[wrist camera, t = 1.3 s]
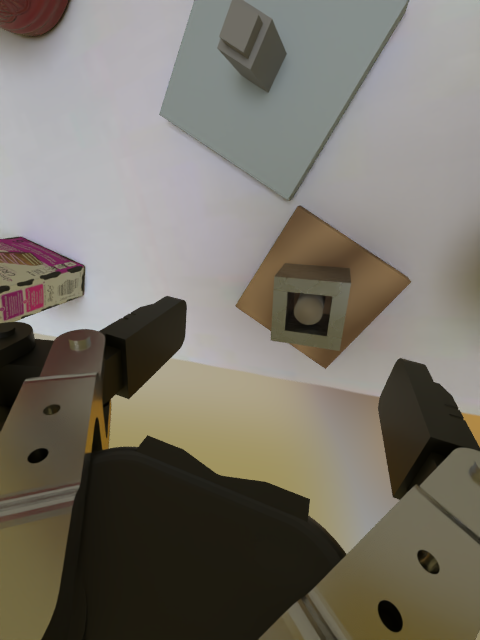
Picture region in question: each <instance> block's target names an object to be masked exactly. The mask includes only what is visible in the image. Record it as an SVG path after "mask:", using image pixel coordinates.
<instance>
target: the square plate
mask: <svg viewBox="0 0 480 640" xmlns="http://www.w3.org/2000/svg"><path fill="white" fill-rule="evenodd" d="M408 3H409V0H194V3H193V7H192V10H191V13H190V16H189V20H188V23H187V26H186V29H185V33H184V36H183V39H182V42H181V46H180V49H179V52H178V55H177V59H176V62H175V65H174V68H173V72H172V75H171V78H170V81H169V85H168V88H167V91H166V94H165V98H164V101H163V104H162V107H161V111H160V114H159V115H161V116H162V117H164V118H165V119H167V120H168V121H170V122H171V123H173V124H174V125H176V126H177V127H179V128H180V129H182V130H183V131H185V132H186V133H188V134H189V135H191V136H192V137H194V138H195V139H197V140H198V141H200V142H201V143H203V144H204V145H206V146H207V147H209V148H210V149H212V150H213V151H215V152H216V153H218V154H219V155H221V156H222V157H224V158H225V159H227V160H228V161H230V162H231V163H233V164H234V165H236V166H237V167H239V168H240V169H242V170H243V171H245V172H246V173H248V174H249V175H251V176H252V177H254V178H255V179H257V180H258V181H260V182H261V183H263V184H264V185H266V186H267V187H269V188H270V189H272V190H273V191H275V192H276V193H278V194H279V195H281V196H282V197H284V198H285V199H287V200H291V199H292V198H293V196H294V194H295V193H296V191H297V189H298V188H299V186H300V185H301V183H302V181H303V180H304V178H305V176H306V175H307V173H308V171H309V170H310V168H311V166H312V165H313V163H314V161H315V160H316V158H317V157H318V155H319V153H320V152H321V150H322V148H323V147H324V145H325V143H326V142H327V140H328V138H329V137H330V135H331V133H332V132H333V130H334V128H335V127H336V125H337V124H338V122H339V120H340V119H341V117H342V115H343V114H344V112H345V110H346V109H347V107H348V105H349V104H350V102H351V100H352V99H353V97H354V96H355V94H356V92H357V91H358V89H359V87H360V86H361V84H362V82H363V81H364V79H365V77H366V76H367V74H368V72H369V71H370V69H371V68H372V66H373V64H374V63H375V61H376V59H377V58H378V56H379V54H380V53H381V51H382V49H383V48H384V46H385V44H386V43H387V41H388V39H389V38H390V36H391V35H392V33H393V31H394V30H395V28H396V26H397V25H398V23H399V21H400V20H401V18H402V16H403V15H404V13H405V11H406V8H407V6H408Z"/></svg>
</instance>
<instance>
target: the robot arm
mask: <svg viewBox="0 0 480 640" xmlns="http://www.w3.org/2000/svg"><path fill="white" fill-rule="evenodd" d="M186 310H187V305H186V302H185V301H184V300H181V299H177V298H173V297H169V296H166V297H164V298H162V299H161V300H159V301H157V302H156V303H154V304H151V305H147V306H143V307H140V308H138V309H136V310H135V311H133V312H131V314H128V315H126V316H124V317H123V318H121V319H119V320H117V321H116V322H114V323H112V324H111V325H109V326H107V327H106V328H104V329H102V330H100V331H99V332H98V331H95V330H89V329H81V330H74V331H70V332H67V333H64V334H62V335H60V336H59V337H57V338H56V339H55V340H54V341H51V340H40V339H35V338H34V334H33V329H32V327H31V326H30V325H29V324H26V323H22V322H5V323H0V640H475V639H476V637H477V634H478V633H479V631H480V447H479V446H478V444H477V442H476V440H475V438H474V436H473V434H472V432H471V431H470V429H469V427H468V425H467V423H466V421H465V420H463V416H462V414H461V412H460V410H458V406H457V405H456V403H455V401H454V399H453V397H452V395H450V394H449V393H448V392H447V391H446V390H445V389H444V388H443V387H442V386H441V385H440V384H439V383H435V382H433V379H432V377H431V375H430V373H429V371H428V369H427V367H426V365H424V364H420V363H417V362H413V361H409V360H405V359H402V358H400V359H398V360H397V362H396V363H395V365H394V367H393V369H392V372H391V374H390V376H389V378H388V380H387V382H386V385H385V387H384V389H383V391H382V393H381V396H380V400H379V406H378V411H379V417H380V423H381V429H382V435H383V441H384V447H385V453H386V459H387V465H388V471H389V476H390V483H391V489H392V495H393V497H394V498H397V499H399V500H400V501H399V502H398V503H397V504H396V505H395V506H394V507H393V508H392V509H391V510H390V511H389V512H388V513H387V514H386V515H385V516H384V517H383V518H382V519H381V520H380V521H379V522H378V523H377V524H376V525H375V527H373V528H372V529H371V530H370V531H369V532H368V533H367V534H366V535H365V536H364V538H363V539H361V540H360V541H359V543H358V544H357V545H356V546H355V547H354V548H353V549H352V550H351V551H350V552H349V553H348V554H346V553H345V551H344V550H343V549H342V548H341V547H340V545H339V544H338V543H337V541H336V540H335V539H334V538H333V537H332V536H331V535H330V534H329V533H328V532H327V531H326V529H324V528H323V527H322V526H321V525H320V524H319V523H317V522H316V521H315V520H314V519H312V518H311V517H310V516H308V513H309V503H310V499H308V498H305V497H303V496H300V495H298V494H295V493H293V492H290V491H287V490H284V489H282V488H280V487H277V486H275V485H272V484H270V483H267V482H261V481H255V480H247V479H240V478H233V477H226V476H221V475H218V474H216V473H214V472H213V471H212V470H211V469H209V468H208V467H206V466H205V465H204V464H202V463H201V462H199V461H198V460H197V459H196V458H194V457H193V456H191V455H190V454H189V453H187V452H186V451H184V450H183V449H180V448H178V447H175V446H173V445H170V444H168V443H165V442H163V441H160V440H158V439H155V438H153V437H150V436H147V437H146V438H145V439H144V441H143V442H142V443H141V444H140V446H139V447H118V448H117V447H116V448H110V449H109V436H110V421H111V398H112V397H113V396H114V395H119V396H122V397H125V398H127V399H129V398H130V397H131V396H132V395H133V394H134V393H136V392H137V391H138V390H139V388H141V387H142V386H143V385H144V384H145V383H146V382H147V381H148V380H149V379H150V378H151V377H152V376H153V375H154V374H155V373H156V372H157V371H158V370H159V369H160V368H161V367H162V366H163V365H164V364H165V363H166V362H167V361H168V360H169V359H170V358H171V357H172V356H173V355H174V354H175V353H176V352H177V351H178V350H179V349H180V348H181V346H182V344H183V342H184V339H185V329H186Z"/></svg>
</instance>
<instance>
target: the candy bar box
mask: <svg viewBox="0 0 480 640" xmlns="http://www.w3.org/2000/svg"><path fill="white" fill-rule="evenodd" d="M84 274H85V273H84V266H83V265H81V264H79V263H77V262H74V261H72V260H70V259H68V258H66V257H63V256H61V255H59V254H57V253H55V252H53V251H50V250H48V249H46V248H44V247H42V246H40V245H37V244H35V243H33V242H31V241H29V240H27V239H25V238H22V237H14V238H6V239H0V323H5V322H15V321H18V320H20V319H23V318H25V317H28V316H30V315H33V314H36V313H39V312H41V311H44V310H46V309H49V308H52V307H54V306H57V305H60V304H62V303H65V302H67V301H70V300H73V299H75V298H78V297H81V296H83V290H84Z"/></svg>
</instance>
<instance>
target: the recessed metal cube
mask: <svg viewBox="0 0 480 640" xmlns="http://www.w3.org/2000/svg"><path fill="white" fill-rule="evenodd" d="M350 287H351V276H350V268H342V267H329V266H316V265H303V264H289V263H285V264H284V265H283V266H282V268H281V269H280V270H279V271H278V272H277V274H276V275H275V276H274V290H273V308H272V327H271V340H272V341H279V342H285V343H291V344H298V345H304V346H310V347H317V348H323V349H330V350H336V351H340V346H341V340H342V334H343V328H344V322H345V316H346V310H347V304H348V299H349V293H350ZM295 293H304V294H314V295H323V296H332V300H331V307H330V314H322V317H321V319H320V320H319V321H318V322H317V323H315V324H313V325H305V324H302V323H300V322H299V321H298V320H297V319H296V317H295V315H294V310H293V309H294V298H295Z"/></svg>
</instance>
